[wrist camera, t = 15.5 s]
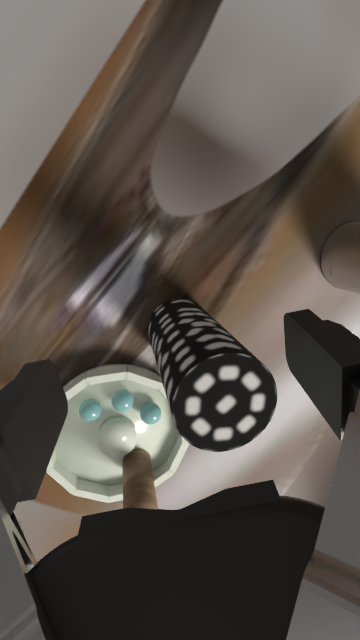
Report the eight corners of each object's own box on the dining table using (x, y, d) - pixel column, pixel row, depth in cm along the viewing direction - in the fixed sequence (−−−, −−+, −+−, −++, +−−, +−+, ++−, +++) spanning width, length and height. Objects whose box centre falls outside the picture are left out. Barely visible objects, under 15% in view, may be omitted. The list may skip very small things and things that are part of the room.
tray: (177, 353, 45) (183, 365, 41) (188, 469, 50) (194, 488, 46) (31, 376, 42) (23, 390, 38) (60, 496, 47) (55, 519, 43)
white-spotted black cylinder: (181, 285, 42) (232, 330, 23) (220, 328, 45) (296, 400, 26) (134, 329, 43) (148, 408, 24) (176, 369, 45) (219, 470, 26)
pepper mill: (148, 446, 46) (160, 526, 34) (152, 469, 47) (164, 556, 35) (120, 451, 46) (121, 536, 33) (124, 475, 47) (126, 565, 34)
